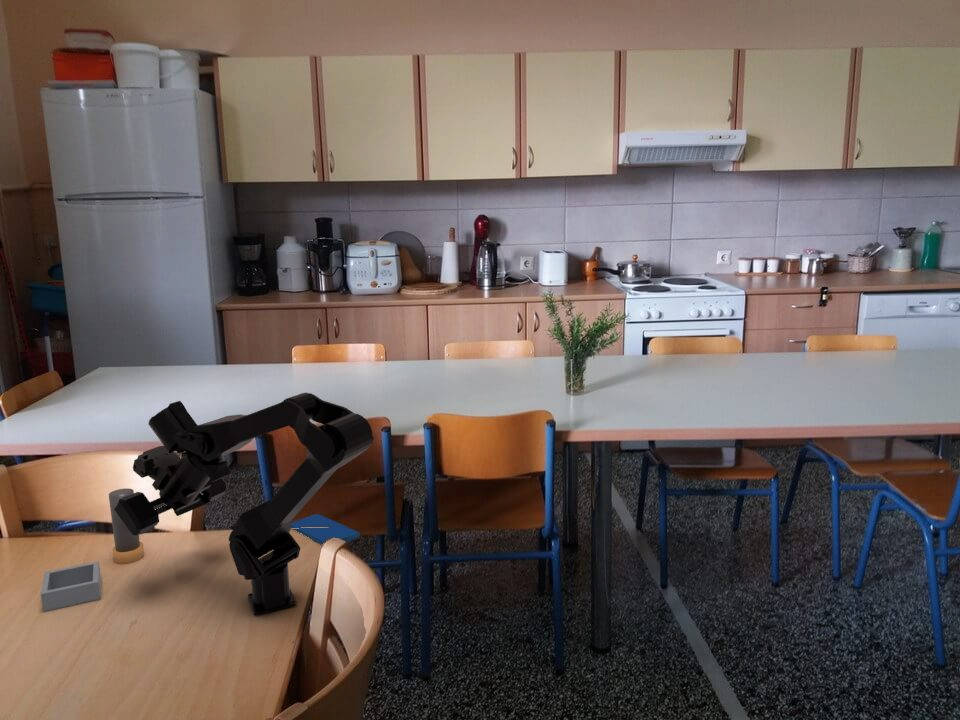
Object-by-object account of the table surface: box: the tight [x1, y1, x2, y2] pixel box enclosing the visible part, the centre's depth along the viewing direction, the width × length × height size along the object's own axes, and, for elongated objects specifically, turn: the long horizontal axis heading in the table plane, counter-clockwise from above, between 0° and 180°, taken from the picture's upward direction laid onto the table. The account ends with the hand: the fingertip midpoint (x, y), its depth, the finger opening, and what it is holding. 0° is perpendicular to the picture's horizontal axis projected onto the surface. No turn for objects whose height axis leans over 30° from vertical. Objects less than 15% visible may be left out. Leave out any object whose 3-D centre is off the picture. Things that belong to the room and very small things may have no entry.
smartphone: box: [290, 513, 361, 546], centre depth 143 cm, size 7×1×15 cm
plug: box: [108, 488, 145, 565], centre depth 132 cm, size 5×5×12 cm
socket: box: [40, 560, 102, 612], centre depth 121 cm, size 8×8×3 cm
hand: (154, 523), depth 128 cm, fingers open, 9 cm apart
